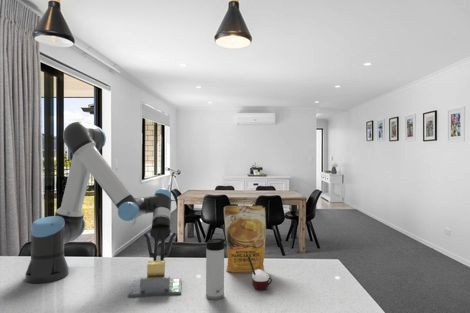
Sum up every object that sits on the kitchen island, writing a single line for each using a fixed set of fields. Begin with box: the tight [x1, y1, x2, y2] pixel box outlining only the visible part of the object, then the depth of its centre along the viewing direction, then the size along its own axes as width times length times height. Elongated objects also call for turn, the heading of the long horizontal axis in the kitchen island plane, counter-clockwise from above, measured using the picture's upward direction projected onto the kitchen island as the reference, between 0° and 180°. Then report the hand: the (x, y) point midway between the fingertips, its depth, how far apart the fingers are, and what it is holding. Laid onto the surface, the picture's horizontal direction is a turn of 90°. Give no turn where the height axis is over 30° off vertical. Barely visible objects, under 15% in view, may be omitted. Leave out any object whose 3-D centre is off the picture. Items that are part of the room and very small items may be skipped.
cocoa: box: [248, 256, 273, 291], centre depth 119 cm, size 10×6×12 cm, turn 86°
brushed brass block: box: [146, 259, 177, 283], centre depth 116 cm, size 10×4×9 cm, turn 98°
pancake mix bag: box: [223, 204, 267, 274], centre depth 139 cm, size 7×19×28 cm, turn 95°
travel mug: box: [205, 237, 226, 301], centre depth 112 cm, size 6×7×20 cm
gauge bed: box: [127, 276, 183, 298], centre depth 118 cm, size 18×13×6 cm
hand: (157, 273), depth 119 cm, fingers closed
